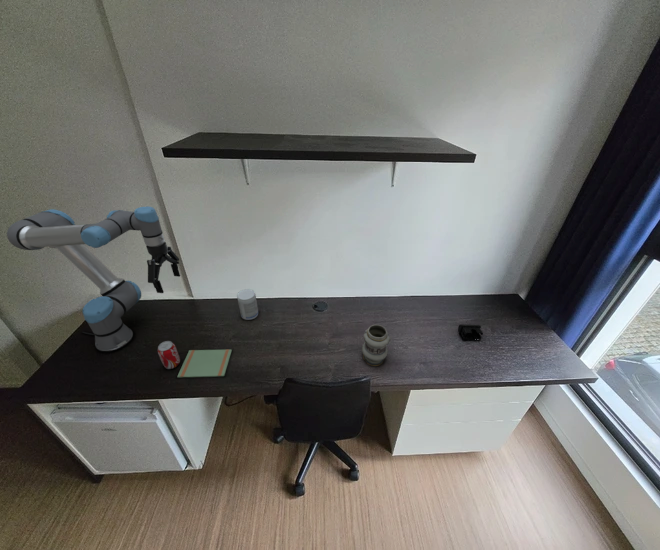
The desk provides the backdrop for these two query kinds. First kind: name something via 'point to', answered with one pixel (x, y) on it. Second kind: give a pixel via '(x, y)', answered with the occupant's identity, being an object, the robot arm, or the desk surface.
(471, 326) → the end cap
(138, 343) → the desk surface
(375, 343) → the apothecary jar
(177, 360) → the soda can
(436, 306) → the desk surface
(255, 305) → the supplement tub
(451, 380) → the desk surface
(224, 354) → the towel
